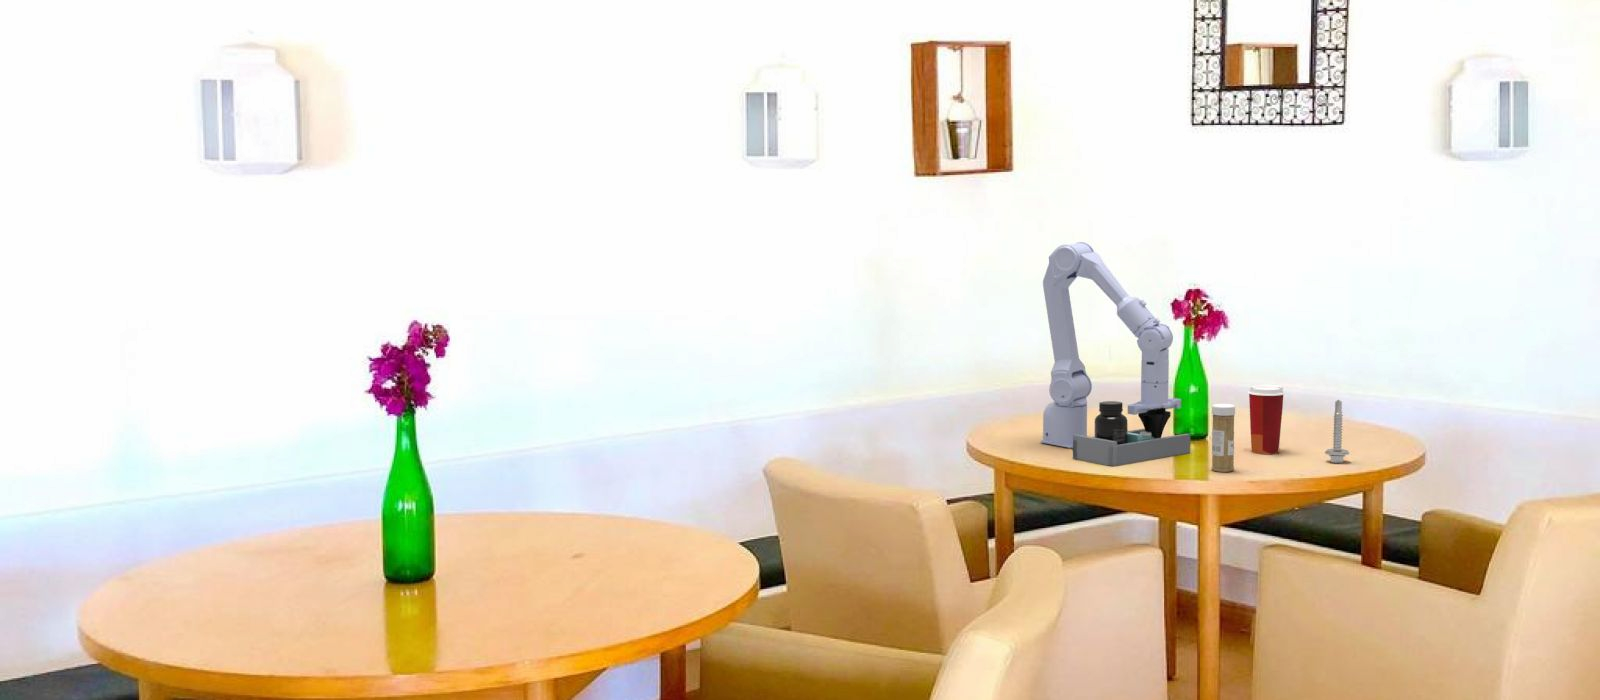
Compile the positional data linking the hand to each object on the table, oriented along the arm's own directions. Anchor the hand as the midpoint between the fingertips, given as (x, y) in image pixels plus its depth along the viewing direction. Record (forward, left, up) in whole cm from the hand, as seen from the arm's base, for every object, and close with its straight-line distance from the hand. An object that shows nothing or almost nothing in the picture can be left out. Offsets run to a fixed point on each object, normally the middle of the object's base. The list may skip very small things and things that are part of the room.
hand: (1153, 444), depth 395 cm
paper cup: (+15, +18, -2) cm, 23 cm away
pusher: (0, -6, -1) cm, 6 cm away
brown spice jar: (+23, -5, -2) cm, 24 cm away
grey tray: (0, -7, -2) cm, 7 cm away
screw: (+32, +20, -2) cm, 38 cm away
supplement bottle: (0, -13, -2) cm, 13 cm away
